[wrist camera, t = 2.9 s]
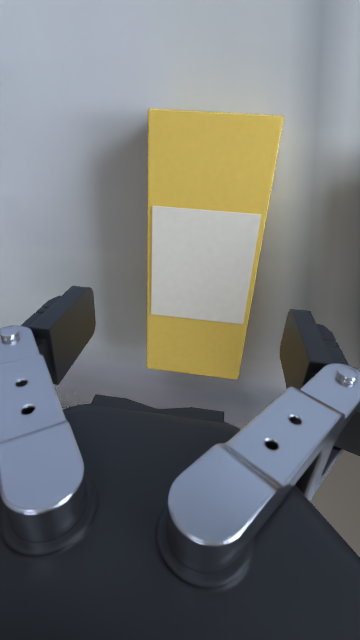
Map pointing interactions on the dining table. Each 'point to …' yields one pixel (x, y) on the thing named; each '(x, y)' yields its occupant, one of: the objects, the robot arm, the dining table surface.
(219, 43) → the dining table surface
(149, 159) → the packet
